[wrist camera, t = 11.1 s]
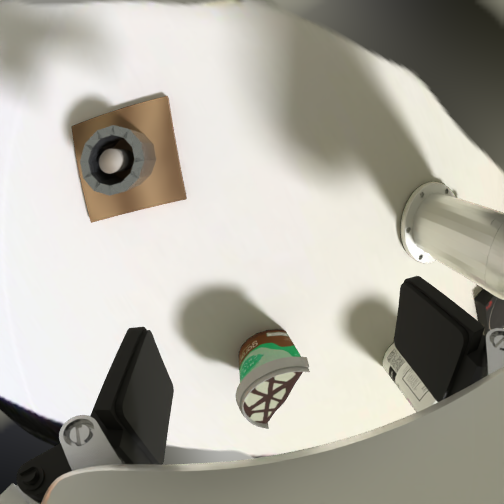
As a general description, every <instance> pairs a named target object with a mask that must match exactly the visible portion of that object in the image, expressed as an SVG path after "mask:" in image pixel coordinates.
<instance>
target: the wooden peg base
mask: <svg viewBox="0 0 504 504" xmlns="http://www.w3.org/2000/svg"><path fill="white" fill-rule="evenodd" d="M112 125H115V126H119V127H123V128H127V129H131V130H134V131H137V132H140V133H144V134H145V135H146V136H147V138H148V139H149V140H150V141H151V142H152V143H153V144H154V150H155V155H156V162H155V165H154V168H153V171H152V174H151V175H150V176H149V177H148V178H147V179H146V180H145V181H144V182H143V183H142V184H141V185H138V186H136V187H134V188H132V189H130V190H127V191H125V192H121V193H118V194H114V195H110V196H109V195H105V194H102V193H99V192H96V191H94V190H93V189H92V188H91V187H90V186H89V185H88V183H87V182H86V181H85V180H84V179H83V175H82V170H81V164H80V159H81V155H82V152H83V148H84V145H85V143H86V142H87V141H88V140H89V139H90V137H91V136H92V135H93V134H94V133H95V132H96V131H97V130H100V129H103V128H106V127H109V126H112ZM72 133H73V140H74V147H75V152H76V158H77V164H78V169H79V174H80V179H81V183H82V188H83V192H84V197H85V201H86V205H87V209H88V213H89V217H90V221H91V223H92V222H95V221H99V220H103V219H106V218H110V217H114V216H118V215H122V214H125V213H129V212H133V211H137V210H141V209H145V208H150V207H154V206H158V205H162V204H167V203H171V202H175V201H180V200H185V199H186V198H187V197H186V192H185V187H184V182H183V177H182V172H181V167H180V162H179V156H178V151H177V145H176V140H175V134H174V129H173V123H172V117H171V111H170V104H169V98H168V96H165V97H161V98H157V99H153V100H149V101H145V102H142V103H138V104H135V105H131V106H128V107H125V108H122V109H118V110H115V111H112V112H109V113H106V114H103V115H100V116H98V117H95V118H92V119H89V120H87V121H84V122H81V123H79V124H76V125H74V126H72ZM133 164H134V154H133V149H132V146H131V145H130V144H129V143H128V142H127V141H126V140H121V141H119V142H118V143H117V144H116V145H115V146H114V147H113V148H112V149H107V150H105V151H104V152H103V153H102V154H101V156H100V158H99V166H100V168H101V170H102V171H103V172H105V173H109V174H110V173H114V174H115V175H116V176H117V177H119V178H122V179H125V178H126V177H127V176H128V175H129V174H130V173H131V170H132V167H133Z"/></svg>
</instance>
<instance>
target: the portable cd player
mask: <svg viewBox="0 0 504 504" xmlns="http://www.w3.org/2000/svg"><path fill="white" fill-rule="evenodd" d="M475 304H476V310H477V316H478V322H479V323H481V324H482V325H483V326H484V327H485V328H484V331H483V335H484V336H486V334H487V333H488V332H489V331H490V330H492V329H495V328H502V329H503V328H504V300H502V299H500V298H498V297H496V296H494V295H493V294H491V293H490V292H488V291H486V290H485V289H482V291H481V292H480V293H479V294H478V295H477V297H476V298H475Z"/></svg>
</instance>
